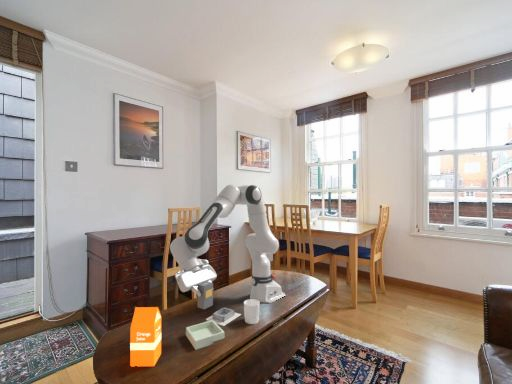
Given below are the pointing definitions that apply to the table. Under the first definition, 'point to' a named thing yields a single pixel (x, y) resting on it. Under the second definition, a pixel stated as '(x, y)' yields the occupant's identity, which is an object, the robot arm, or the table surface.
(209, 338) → the sage tray
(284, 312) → the table surface
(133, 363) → the orange juice
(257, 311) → the white cup
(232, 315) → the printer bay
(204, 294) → the gray rectangular block
